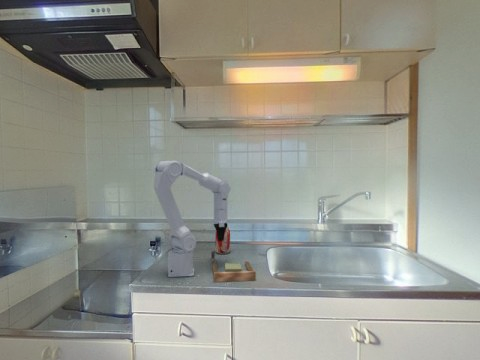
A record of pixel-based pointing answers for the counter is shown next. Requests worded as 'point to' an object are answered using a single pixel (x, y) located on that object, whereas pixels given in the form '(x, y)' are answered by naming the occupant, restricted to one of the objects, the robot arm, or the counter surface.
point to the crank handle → (213, 256)
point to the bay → (234, 274)
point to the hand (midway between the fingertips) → (220, 240)
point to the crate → (232, 267)
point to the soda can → (223, 243)
